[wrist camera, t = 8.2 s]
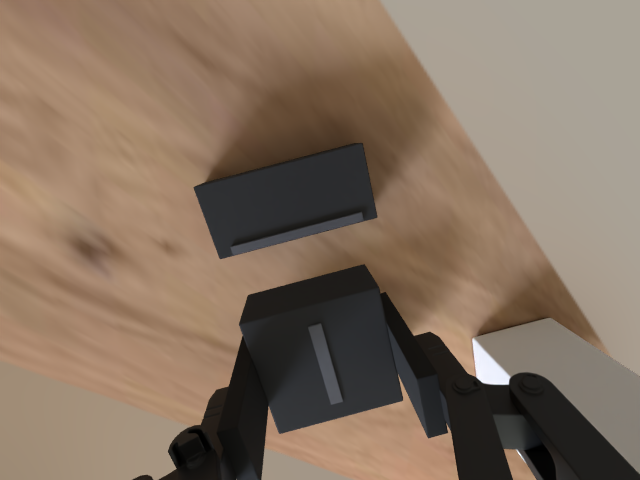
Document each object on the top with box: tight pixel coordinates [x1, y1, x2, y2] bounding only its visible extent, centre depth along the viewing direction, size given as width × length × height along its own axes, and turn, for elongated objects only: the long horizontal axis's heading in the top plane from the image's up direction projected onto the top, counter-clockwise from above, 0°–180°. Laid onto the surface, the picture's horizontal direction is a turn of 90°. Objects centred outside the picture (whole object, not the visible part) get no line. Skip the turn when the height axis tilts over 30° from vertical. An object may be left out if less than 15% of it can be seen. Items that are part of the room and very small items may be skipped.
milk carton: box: [473, 318, 640, 474], centre depth 20 cm, size 7×7×19 cm
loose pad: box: [239, 265, 403, 434], centre depth 16 cm, size 6×6×3 cm
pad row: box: [194, 143, 377, 259], centre depth 24 cm, size 18×11×3 cm, turn 14°
